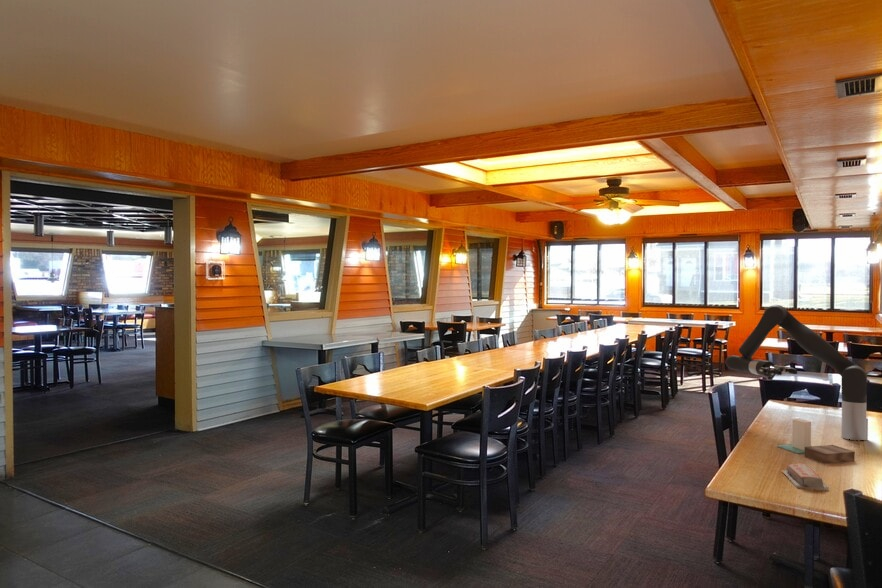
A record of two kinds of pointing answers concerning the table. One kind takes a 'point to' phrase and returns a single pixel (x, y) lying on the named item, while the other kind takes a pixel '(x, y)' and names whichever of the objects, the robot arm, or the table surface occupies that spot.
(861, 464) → the table surface
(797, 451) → the mat
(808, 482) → the packaged product
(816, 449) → the block
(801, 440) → the beige rectangular block
